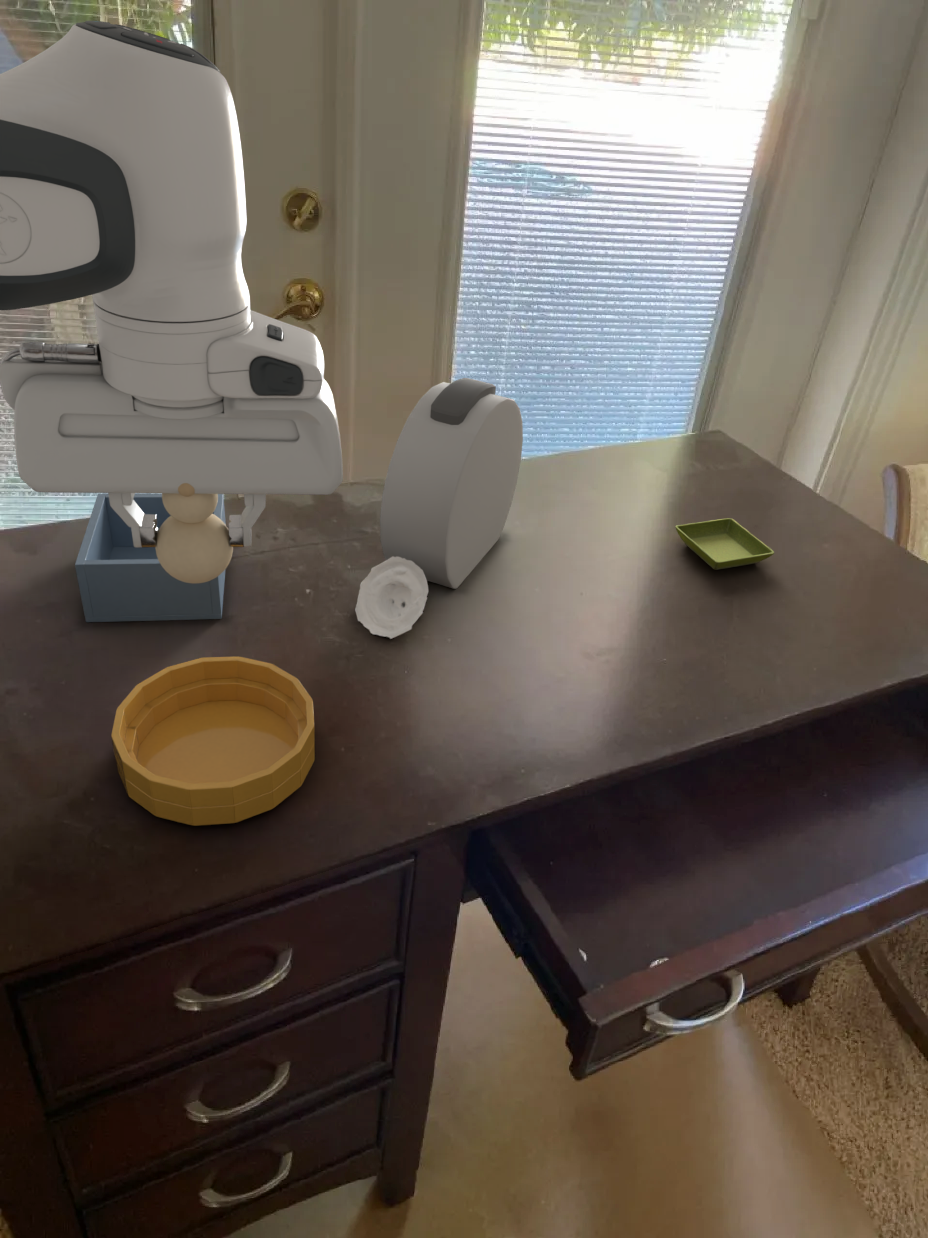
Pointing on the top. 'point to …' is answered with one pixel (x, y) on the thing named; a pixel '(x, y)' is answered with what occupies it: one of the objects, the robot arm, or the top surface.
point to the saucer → (723, 543)
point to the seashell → (392, 597)
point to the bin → (137, 572)
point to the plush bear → (192, 537)
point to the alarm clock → (452, 479)
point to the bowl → (214, 740)
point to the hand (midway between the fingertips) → (195, 543)
